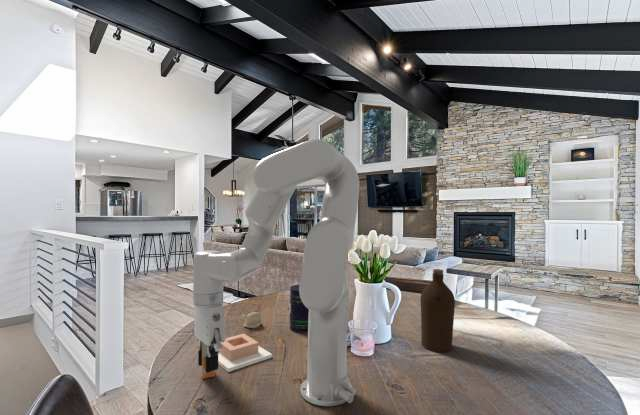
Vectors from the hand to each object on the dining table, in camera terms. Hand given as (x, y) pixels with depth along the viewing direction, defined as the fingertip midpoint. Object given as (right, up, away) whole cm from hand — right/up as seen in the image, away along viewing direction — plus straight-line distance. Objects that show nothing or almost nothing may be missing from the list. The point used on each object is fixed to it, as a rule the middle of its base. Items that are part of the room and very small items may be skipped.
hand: (208, 366), depth 89 cm
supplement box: (0, -2, 0) cm, 2 cm away
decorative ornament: (+4, -2, +36) cm, 37 cm away
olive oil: (+68, -4, +21) cm, 71 cm away
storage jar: (+23, -3, +35) cm, 42 cm away
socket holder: (+5, -2, +12) cm, 14 cm away
